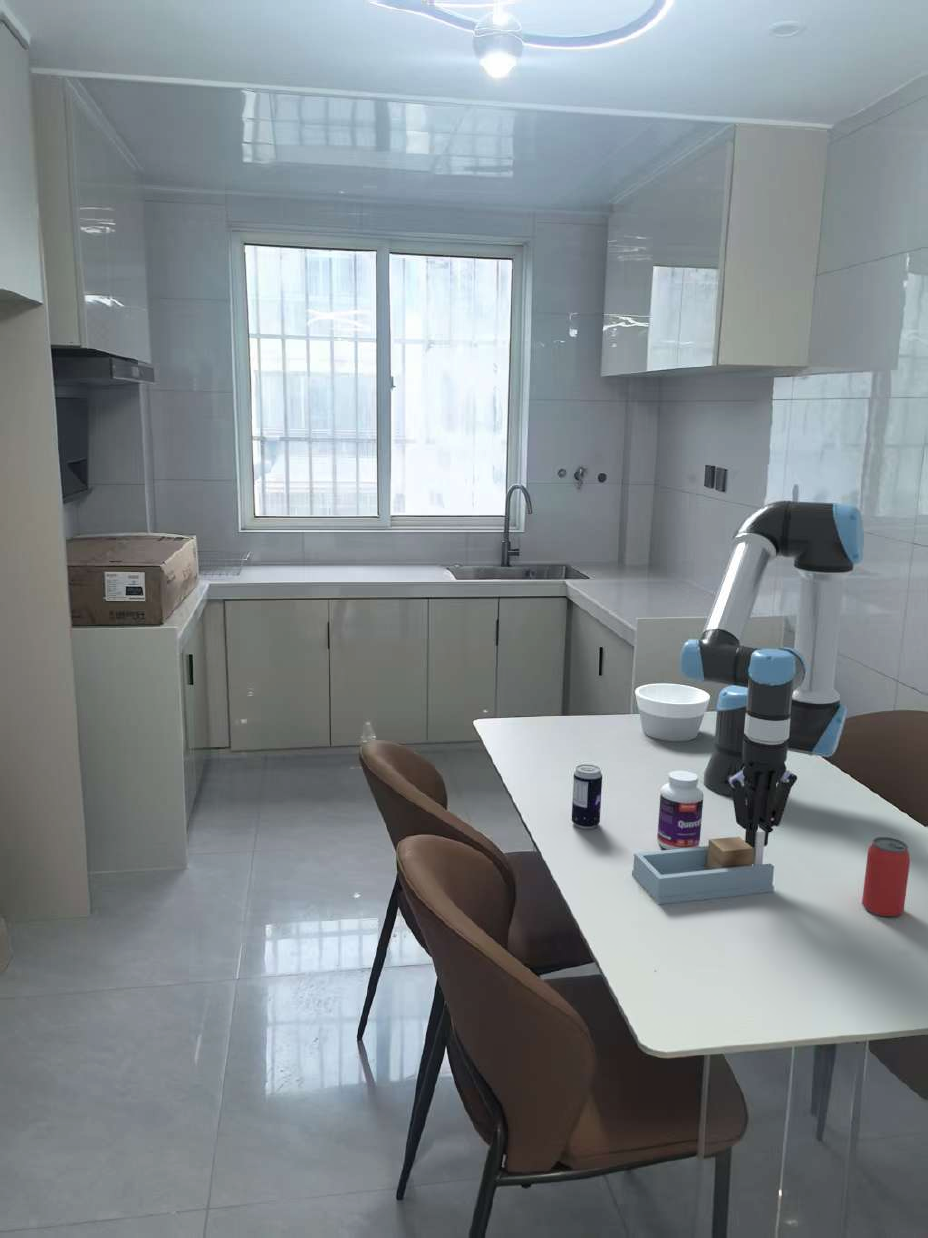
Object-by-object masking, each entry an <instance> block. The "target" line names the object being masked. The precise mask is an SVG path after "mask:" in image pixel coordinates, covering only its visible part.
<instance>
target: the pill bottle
mask: <svg viewBox="0 0 928 1238" xmlns="http://www.w3.org/2000/svg"><path fill="white" fill-rule="evenodd" d="M667 779H668V780H667V783H665V784H664V785H663V786H661V789H660V795H659V796H660V797H659V809H658V810H659V811H658V824H657V835H656V836H657V837H656V840H657V843H658V844H659V846H660V847H662V848H663V849H664V850H672V849H683V848H693V847H700V841H701V830H702V822H703V821H702V819H703V807H704V792H703V790H702V789H701V788H700V787H699V786H698V783H699V776H698V775H697V774H696V773H694V772H691V771H687V770H673V771H671V772H669V773H668V777H667Z"/></svg>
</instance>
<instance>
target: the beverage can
mask: <svg viewBox="0 0 928 1238" xmlns="http://www.w3.org/2000/svg"><path fill="white" fill-rule="evenodd" d="M572 781H573V783H572V785H573V786H572V804H571V806H572V807H571V822H572V823H573V824H574V825H575V826H576V827H577V828H580V829H583V830H592V829H595V828H596V827H597V826H598V825H599V824H600V821H601V808H602V807H601V806H602V789H603V774H602V769H601V767H600V766H597V765H594V764H580V765H579V764H578V766H576V767H575V771H574V773H573V780H572Z"/></svg>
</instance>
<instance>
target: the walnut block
mask: <svg viewBox="0 0 928 1238" xmlns="http://www.w3.org/2000/svg"><path fill="white" fill-rule="evenodd" d="M707 846H708V857H707V869H706V870H714V869H723V868H733V867H742V866H752V865H753V864H752V860H753V849H754V848H752V847H751V846H750V845H749V844H748V843H746V842H745V839H743V838H742V837H741V836H732V837H731V836H730V837H721V838H710V839H709V838H708V844H707Z"/></svg>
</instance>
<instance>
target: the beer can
mask: <svg viewBox="0 0 928 1238" xmlns="http://www.w3.org/2000/svg"><path fill="white" fill-rule="evenodd" d="M910 863H911V857H910V852H909V845H908V844H907V843H906V842H904V841H902V840H901V839H898V838H894V837H889V836H878V837H875V838H873V839H872V842H871V843H870V846H869V847H868V851H867V857H866V867H865V874H864V882H863V891H862V899H861V903H862V905H863V908H864V909H866V910H867V911H869V913H872V914H874V915H877V916H881V917H885V918H886V917H887V918H894V917H898V916H901V915H902V914H903V913H904V911H905V903H906V896H907V889H908V887H907V886H908V880H909V872H910Z"/></svg>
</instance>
